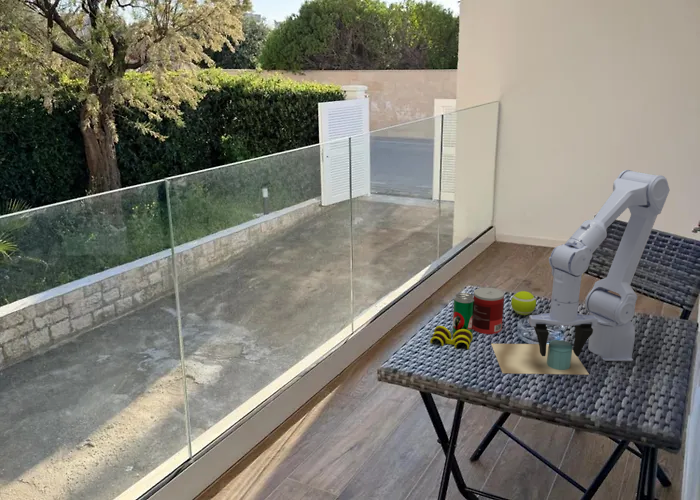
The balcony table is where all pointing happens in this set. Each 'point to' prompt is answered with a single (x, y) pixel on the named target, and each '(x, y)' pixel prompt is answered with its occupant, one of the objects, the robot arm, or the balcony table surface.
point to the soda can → (463, 312)
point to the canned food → (488, 310)
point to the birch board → (531, 360)
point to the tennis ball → (523, 303)
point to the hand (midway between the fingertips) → (559, 354)
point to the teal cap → (559, 354)
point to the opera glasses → (445, 337)
